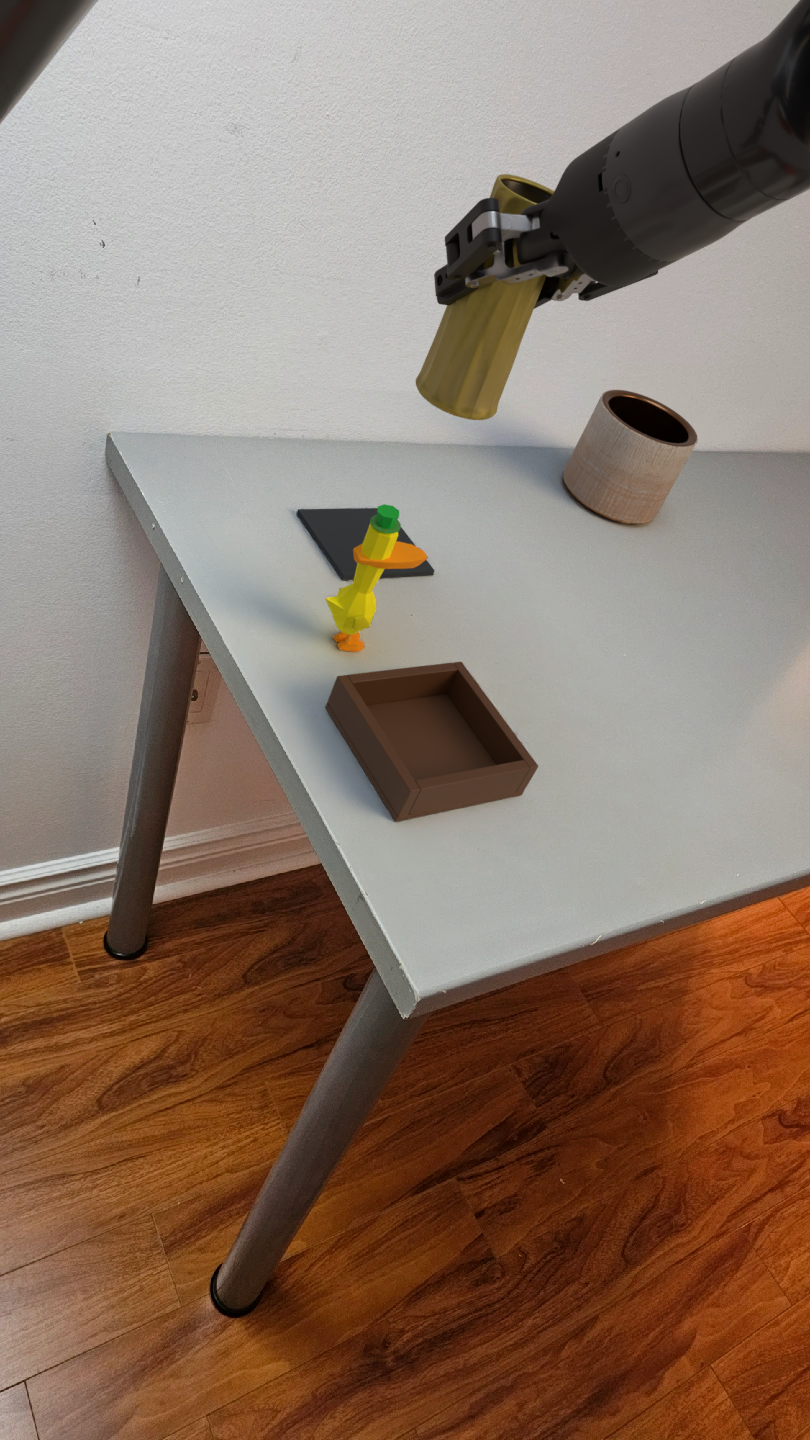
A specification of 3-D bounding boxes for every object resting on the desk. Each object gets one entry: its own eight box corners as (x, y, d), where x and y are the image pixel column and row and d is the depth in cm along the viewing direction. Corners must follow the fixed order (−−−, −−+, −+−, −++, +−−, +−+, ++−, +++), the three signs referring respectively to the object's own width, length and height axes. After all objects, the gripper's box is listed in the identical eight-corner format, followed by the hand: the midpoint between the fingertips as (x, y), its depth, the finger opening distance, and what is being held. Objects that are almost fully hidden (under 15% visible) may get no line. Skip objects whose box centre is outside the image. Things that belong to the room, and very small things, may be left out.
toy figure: (381, 627, 82) (433, 498, 74) (398, 658, 80) (453, 529, 72) (301, 628, 79) (347, 493, 71) (317, 660, 77) (366, 525, 69)
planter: (599, 529, 106) (643, 446, 100) (541, 467, 112) (580, 385, 106) (673, 527, 112) (719, 448, 106) (615, 468, 118) (655, 391, 112)
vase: (438, 419, 71) (521, 205, 62) (400, 372, 75) (472, 163, 66) (510, 424, 75) (598, 221, 66) (469, 379, 78) (548, 180, 69)
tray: (395, 822, 68) (410, 791, 66) (324, 707, 73) (336, 675, 71) (521, 795, 73) (539, 766, 71) (447, 690, 79) (461, 660, 77)
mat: (342, 580, 85) (344, 575, 85) (296, 513, 90) (297, 508, 89) (433, 575, 90) (435, 570, 90) (384, 512, 95) (386, 507, 94)
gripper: (745, 144, 61) (554, 254, 75) (554, 88, 53) (381, 222, 68) (754, 276, 61) (562, 360, 76) (565, 239, 54) (391, 341, 68)
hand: (477, 295), depth 72 cm, fingers closed on vase, 5 cm apart
